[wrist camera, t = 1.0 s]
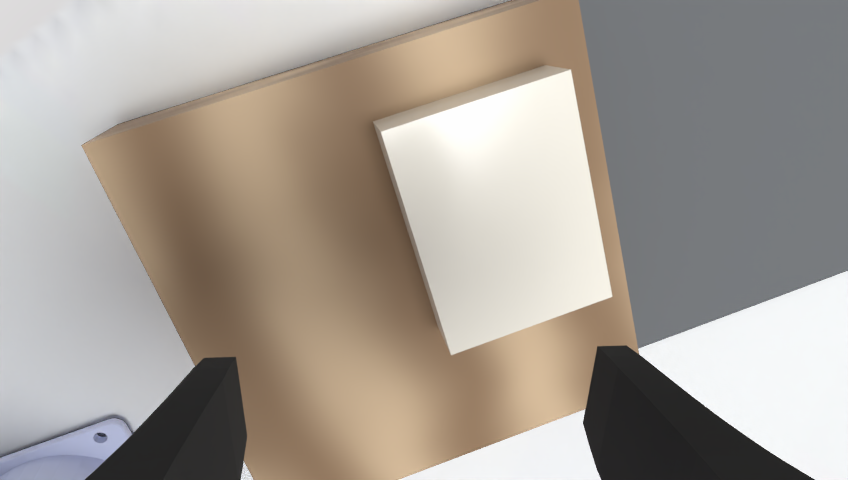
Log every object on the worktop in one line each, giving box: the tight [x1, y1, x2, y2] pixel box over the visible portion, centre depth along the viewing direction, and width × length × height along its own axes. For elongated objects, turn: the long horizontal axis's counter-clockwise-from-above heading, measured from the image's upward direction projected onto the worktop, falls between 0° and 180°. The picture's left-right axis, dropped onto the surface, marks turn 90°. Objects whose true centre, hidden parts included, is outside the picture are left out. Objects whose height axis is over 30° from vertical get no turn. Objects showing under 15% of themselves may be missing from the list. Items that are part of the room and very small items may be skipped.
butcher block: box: [82, 0, 639, 480], centre depth 24 cm, size 16×16×4 cm
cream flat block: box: [373, 65, 612, 355], centre depth 20 cm, size 6×8×2 cm
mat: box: [579, 0, 848, 348], centre depth 26 cm, size 16×20×1 cm
